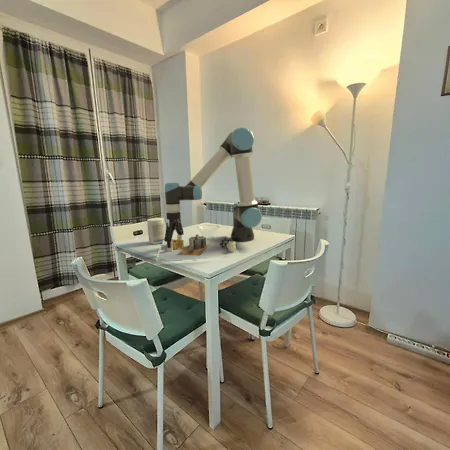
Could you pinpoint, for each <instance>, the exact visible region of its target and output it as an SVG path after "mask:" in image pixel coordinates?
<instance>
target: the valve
mask: <svg viewBox="0 0 450 450" xmlns="http://www.w3.org/2000/svg"><path fill="white" fill-rule="evenodd" d="M220 242H221V243H219V245H220V246H221V248H226V249H227V250H228V252H229V253H236V250H237V247H236V245H237V244H236V242H237V241H235V240H232V241H231V238H227V237H224V238H223V239H221V240H220Z"/></svg>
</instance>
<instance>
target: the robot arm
mask: <svg viewBox="0 0 450 450" xmlns="http://www.w3.org/2000/svg"><path fill="white" fill-rule="evenodd" d="M254 143H255V136H254V134H253V132H252V130H250V129H249V128H247V127H239V128H238V127H237V128H236V129H234V130H233V131H231V132H230V133H229V134H228V135H227V137H226V138H225V139H224V141H223V142H222V143H221V145H219V147H218V148H219V149H218V150H217V151H216V152H215V154H214V155H213V156H212V157H211V158H210V159H209V160H208V161H207V162H206V163H205V165H204V166H202V168H200V170H199V171H198V172H197V173H196V174H195V175H194V176H193V177H192V179H191V180H190V181H189V182H188V183H187V184H186V185H184V186H183V185H182V186H180V184H179V182H166V183H165V184H164V199H165V205H164V207H165V211H166V213H165V215H166V219H167V220H168V222H166V224H165V226H166V228H165V232H164V235H165V239H164V241H163V242H166V249H167V252H173V251H174V250H173V248H172V241H171V240H172V239H173V235H174V231H175V232H176V234H177V235H176V236H177V237H176V239H179V240H183V236H184V227H183V225H182V220H181V219H182V216H181V212H180V211H181V202H180V201H200V200H202V198H203V190H202V188H203V187H204V186H205V185H206V183H208V181H209V180H210V179H212V177H213V176H214V175H215V174H216V173H217V172H218V171H219V169H221V167H223V165H225V163H226V162H227V161H228V160H229V159H230V160H231V159H234V164H235V172H236V181H237V188H238V189H237V190H238V196H239V197H238V198H239V201H238V202H234V203H233V204H232V223H233V224H232V225H233V227H232V230H231V234H230V240H232V241H234V242H250V241H253V240H255V232H254V230H253V228H255V227H257V226H258V225H260V223H261V222H262V219H263V218H262V217H263V215H262V212H261V210H260V209H259V202H258V201H257V200H256V199H255V188H254V187H255V186H254V180H253V170H252V159H251V157H252V155H253V145H254Z"/></svg>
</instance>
